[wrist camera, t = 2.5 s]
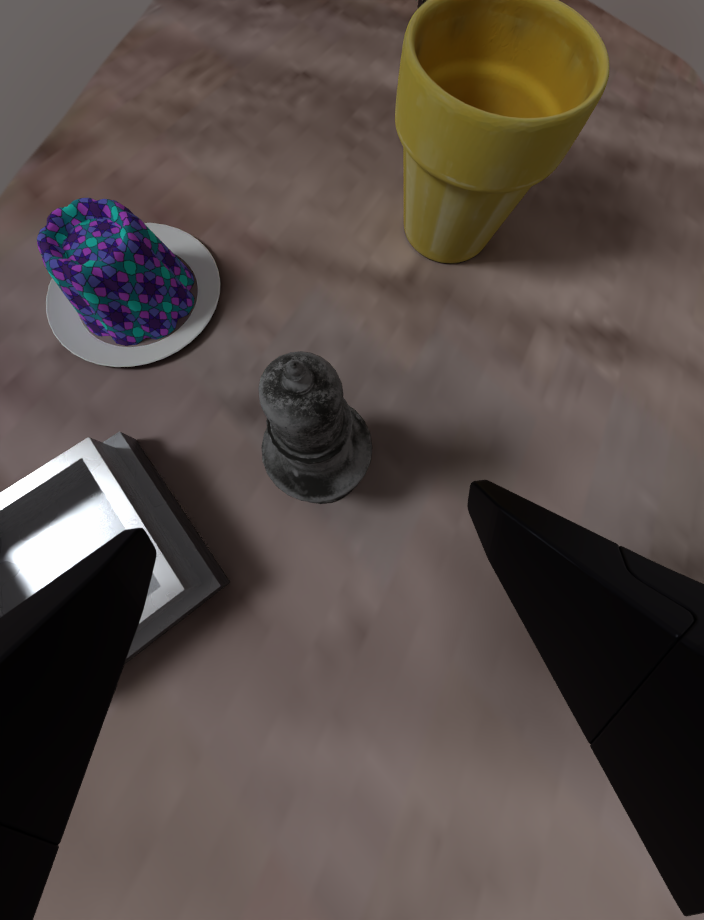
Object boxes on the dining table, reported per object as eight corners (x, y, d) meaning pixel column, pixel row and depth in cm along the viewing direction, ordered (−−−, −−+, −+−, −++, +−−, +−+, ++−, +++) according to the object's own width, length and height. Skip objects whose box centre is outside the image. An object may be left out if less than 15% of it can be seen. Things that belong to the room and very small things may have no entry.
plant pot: (526, 201, 26) (630, 8, 17) (494, 302, 24) (594, 146, 14) (405, 164, 27) (438, -42, 17) (362, 259, 24) (374, 82, 15)
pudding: (249, 330, 23) (222, 272, 18) (82, 400, 22) (1, 357, 16) (189, 211, 26) (151, 129, 20) (36, 266, 24) (-47, 193, 19)
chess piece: (338, 403, 22) (332, 246, 10) (384, 478, 20) (438, 399, 9) (259, 446, 21) (151, 328, 9) (303, 526, 20) (243, 508, 8)
